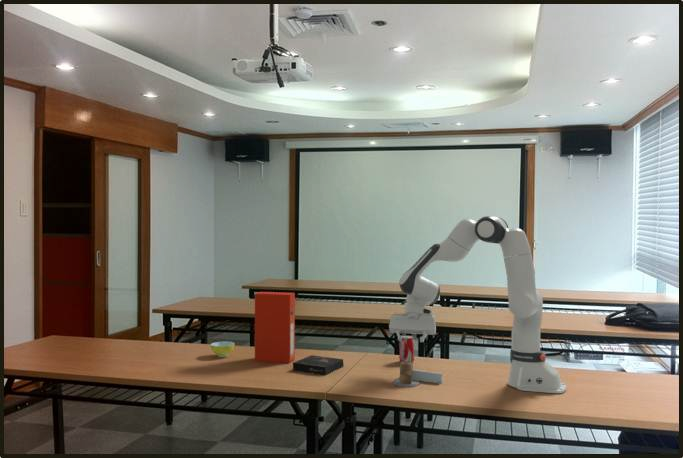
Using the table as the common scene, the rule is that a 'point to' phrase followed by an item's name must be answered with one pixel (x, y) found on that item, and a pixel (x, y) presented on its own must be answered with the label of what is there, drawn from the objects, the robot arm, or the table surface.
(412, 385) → the coaster
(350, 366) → the table surface
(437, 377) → the acrylic wall
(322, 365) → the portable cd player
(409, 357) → the soda can
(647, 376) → the table surface
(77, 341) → the table surface
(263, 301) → the file binder
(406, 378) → the walnut block
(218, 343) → the bowl
